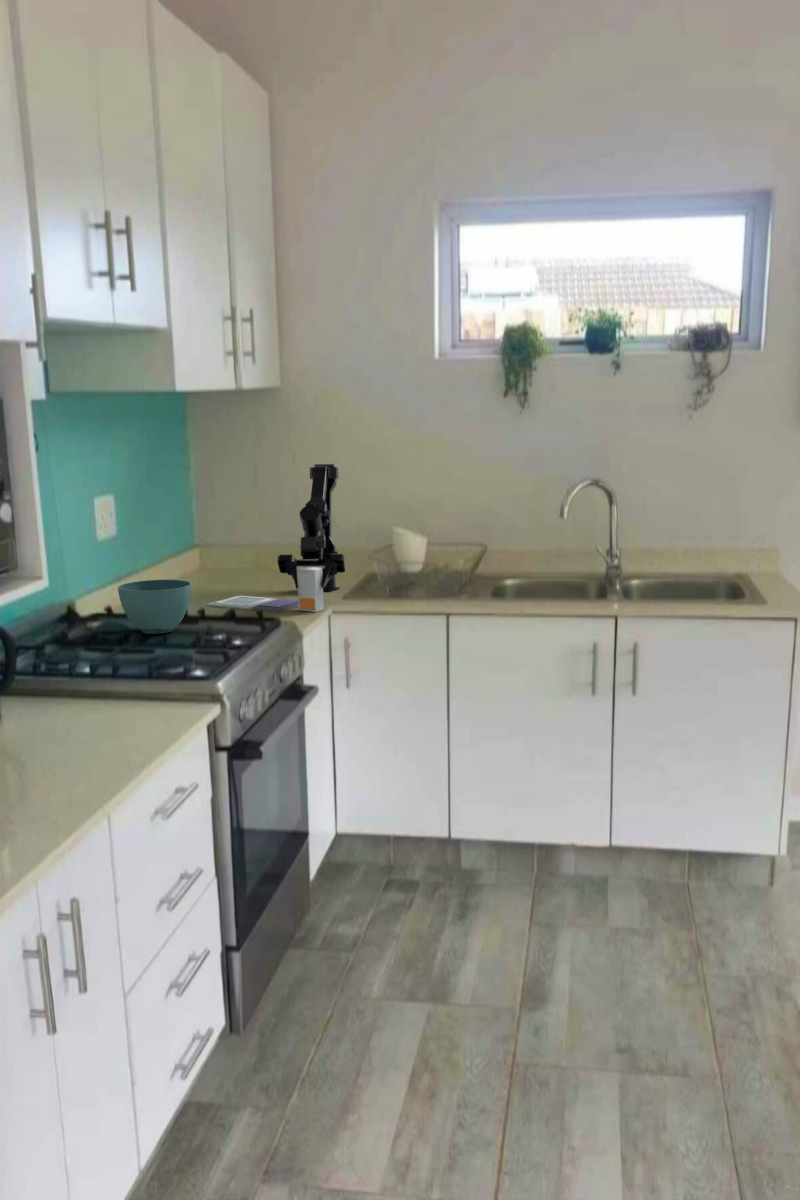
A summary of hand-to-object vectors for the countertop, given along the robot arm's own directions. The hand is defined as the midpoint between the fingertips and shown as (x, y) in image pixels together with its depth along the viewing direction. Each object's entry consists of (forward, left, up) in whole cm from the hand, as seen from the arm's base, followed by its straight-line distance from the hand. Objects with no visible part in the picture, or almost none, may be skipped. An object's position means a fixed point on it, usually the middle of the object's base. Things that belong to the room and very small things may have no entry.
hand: (309, 587), depth 288 cm
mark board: (-2, -25, -7) cm, 26 cm away
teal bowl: (+39, -21, -7) cm, 45 cm away
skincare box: (-1, -1, -7) cm, 7 cm away
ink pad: (-1, -12, -7) cm, 13 cm away
